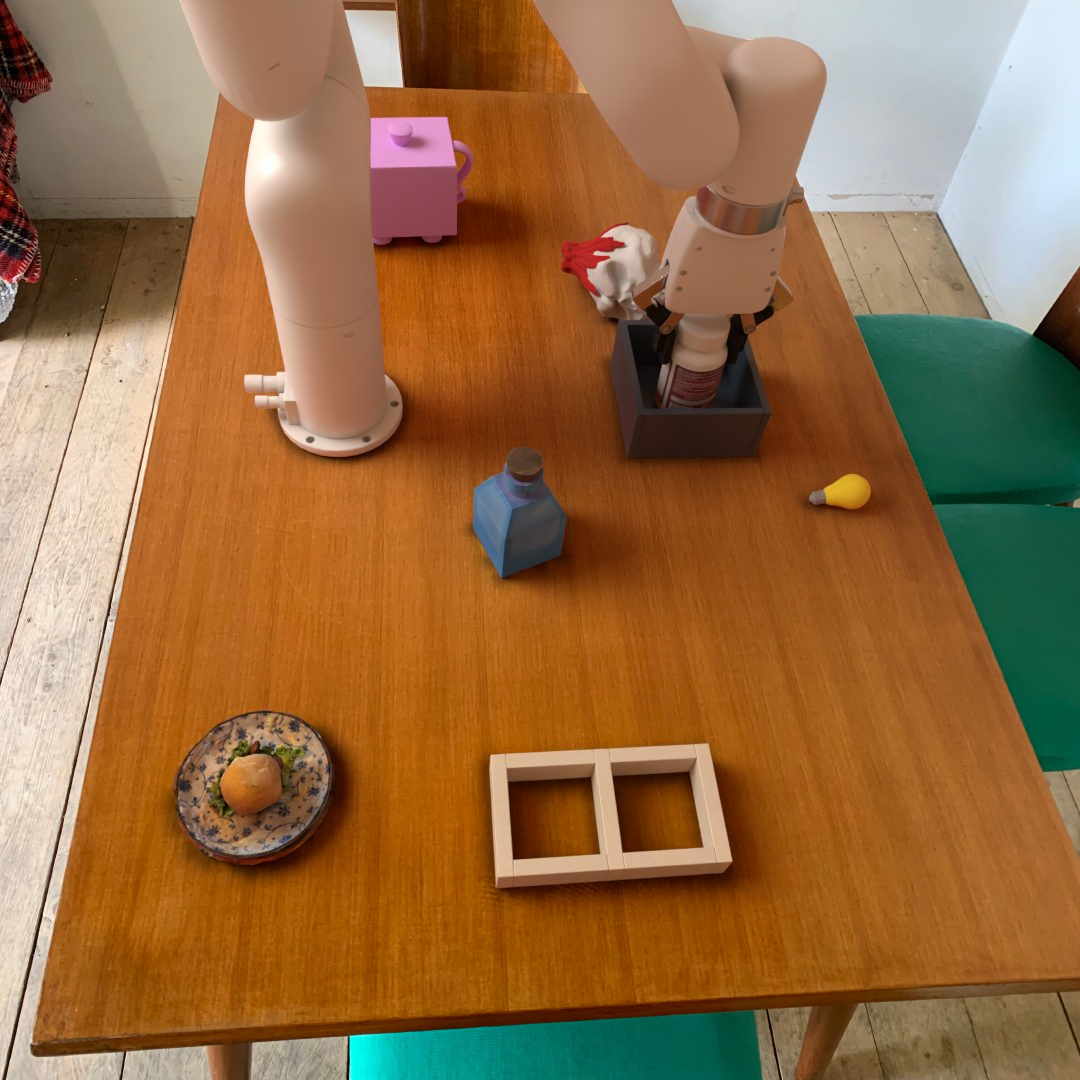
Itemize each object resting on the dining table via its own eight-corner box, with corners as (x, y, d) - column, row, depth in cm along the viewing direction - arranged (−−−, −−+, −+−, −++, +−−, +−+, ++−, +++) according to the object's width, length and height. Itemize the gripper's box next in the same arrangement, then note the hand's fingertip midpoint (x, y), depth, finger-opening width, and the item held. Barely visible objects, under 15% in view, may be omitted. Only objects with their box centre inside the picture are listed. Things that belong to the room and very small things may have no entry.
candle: (661, 344, 104) (539, 316, 108) (690, 286, 110) (573, 261, 114) (667, 278, 97) (536, 251, 101) (697, 220, 103) (573, 196, 107)
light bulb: (871, 509, 93) (877, 498, 90) (811, 520, 94) (815, 509, 91) (863, 478, 94) (869, 466, 91) (804, 489, 95) (807, 477, 92)
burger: (336, 713, 76) (326, 672, 70) (335, 858, 69) (323, 826, 63) (185, 725, 74) (161, 684, 68) (169, 874, 68) (141, 843, 62)
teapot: (467, 195, 118) (469, 101, 108) (477, 244, 113) (479, 150, 103) (309, 200, 115) (295, 103, 105) (310, 251, 110) (296, 154, 99)
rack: (496, 888, 69) (497, 877, 66) (489, 768, 74) (490, 754, 72) (723, 873, 71) (732, 861, 68) (700, 757, 76) (708, 743, 74)
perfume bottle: (501, 578, 85) (508, 498, 75) (473, 528, 88) (475, 446, 78) (560, 555, 87) (574, 475, 77) (530, 508, 90) (540, 424, 80)
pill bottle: (722, 412, 98) (749, 329, 89) (677, 432, 96) (701, 349, 87) (686, 376, 101) (709, 293, 92) (642, 395, 99) (661, 311, 89)
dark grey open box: (627, 458, 95) (637, 414, 89) (610, 365, 102) (618, 319, 97) (754, 456, 96) (772, 413, 91) (728, 364, 104) (743, 319, 99)
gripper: (826, 174, 81) (769, 329, 96) (635, 170, 79) (606, 329, 94) (850, 227, 77) (786, 381, 92) (648, 224, 75) (616, 382, 90)
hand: (695, 353), depth 93 cm, fingers closed on pill bottle, 6 cm apart
